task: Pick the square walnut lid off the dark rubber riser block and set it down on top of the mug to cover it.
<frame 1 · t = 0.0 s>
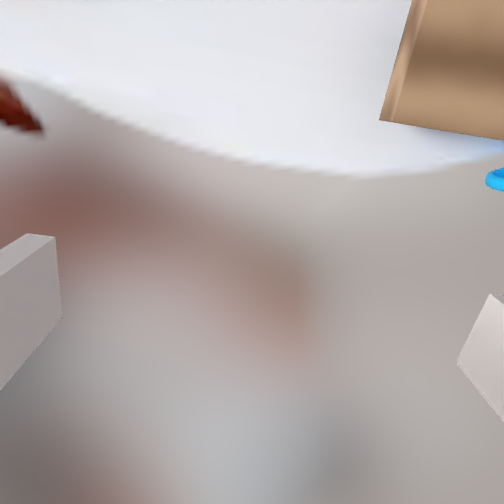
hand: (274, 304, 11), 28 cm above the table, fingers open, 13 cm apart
lid: (461, 60, 29), point 4 cm above the table, touching riser
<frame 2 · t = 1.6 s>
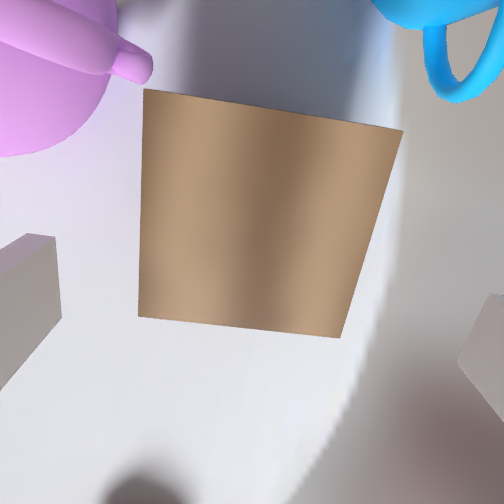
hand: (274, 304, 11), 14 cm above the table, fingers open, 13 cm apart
lid: (255, 214, 19), point 4 cm above the table, touching riser
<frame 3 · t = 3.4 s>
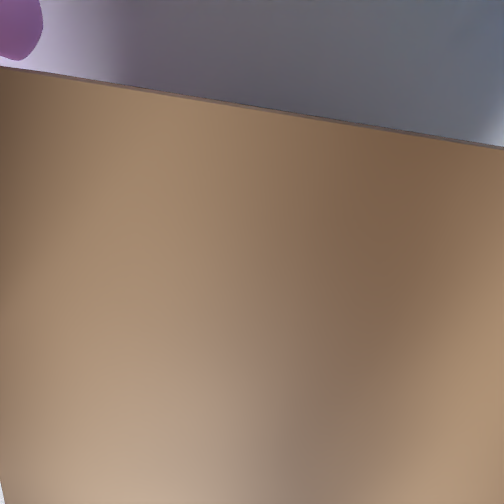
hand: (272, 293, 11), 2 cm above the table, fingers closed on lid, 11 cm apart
lid: (278, 337, 9), point 4 cm above the table, touching gripper, riser
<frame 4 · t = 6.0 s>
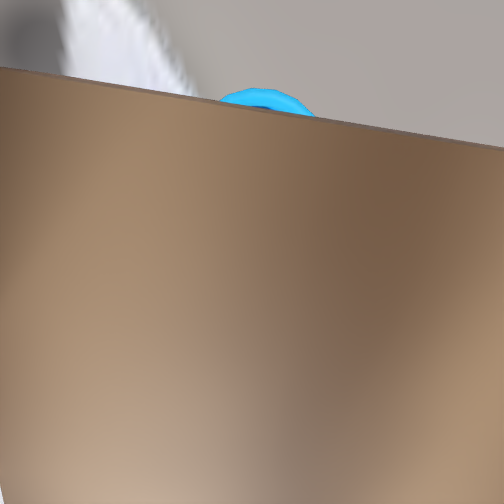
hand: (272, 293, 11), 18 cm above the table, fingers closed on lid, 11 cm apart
lid: (278, 337, 9), point 21 cm above the table, touching gripper
mug: (256, 172, 28), on the table
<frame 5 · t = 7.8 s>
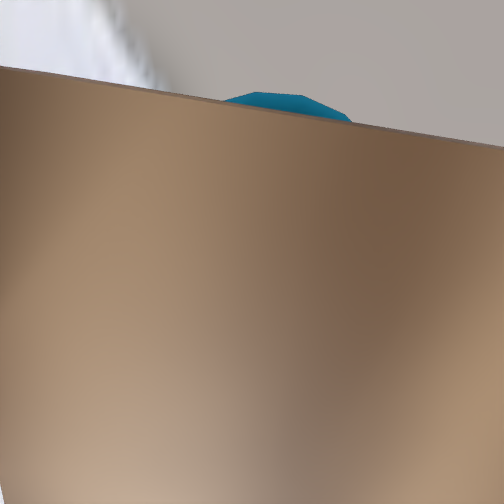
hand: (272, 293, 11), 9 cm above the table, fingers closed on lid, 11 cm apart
lid: (279, 337, 9), point 11 cm above the table, touching gripper
mug: (260, 212, 19), on the table
when the fingers open (8 cm above the table, at t = 8.9 s): lid drops 2 cm, resting on mug.
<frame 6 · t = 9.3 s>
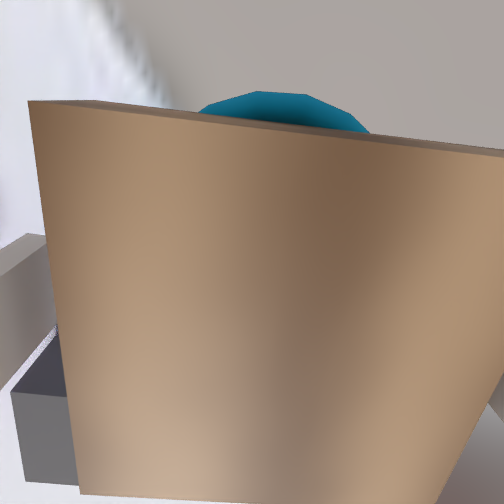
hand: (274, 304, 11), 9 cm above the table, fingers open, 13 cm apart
lid: (277, 302, 11), point 8 cm above the table, touching mug
riser: (113, 384, 23), on the table
mug: (262, 215, 19), on the table, touching lid
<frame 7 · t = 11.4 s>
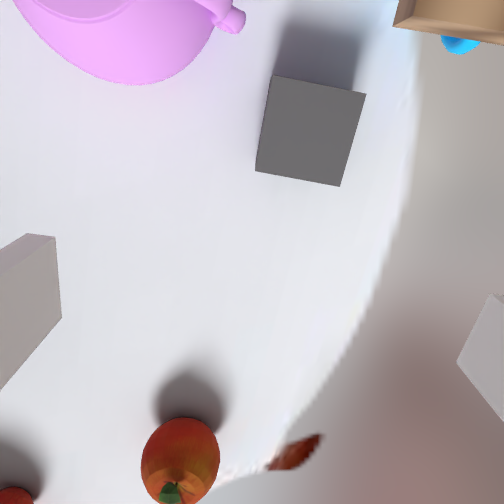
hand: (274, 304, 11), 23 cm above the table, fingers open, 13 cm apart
apple: (18, 493, 53), on the table
riser: (301, 129, 31), on the table
fruit: (187, 429, 47), on the table
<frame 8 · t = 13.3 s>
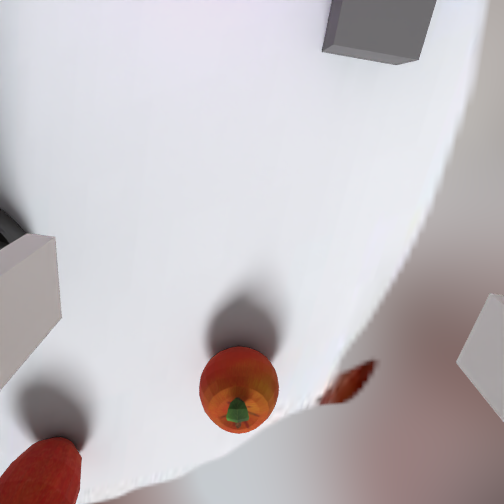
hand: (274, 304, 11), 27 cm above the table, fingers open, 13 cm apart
apple: (62, 445, 52), on the table
riser: (370, 13, 30), on the table
fruit: (239, 362, 46), on the table
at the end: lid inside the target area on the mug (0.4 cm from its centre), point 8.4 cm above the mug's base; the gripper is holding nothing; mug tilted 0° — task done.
